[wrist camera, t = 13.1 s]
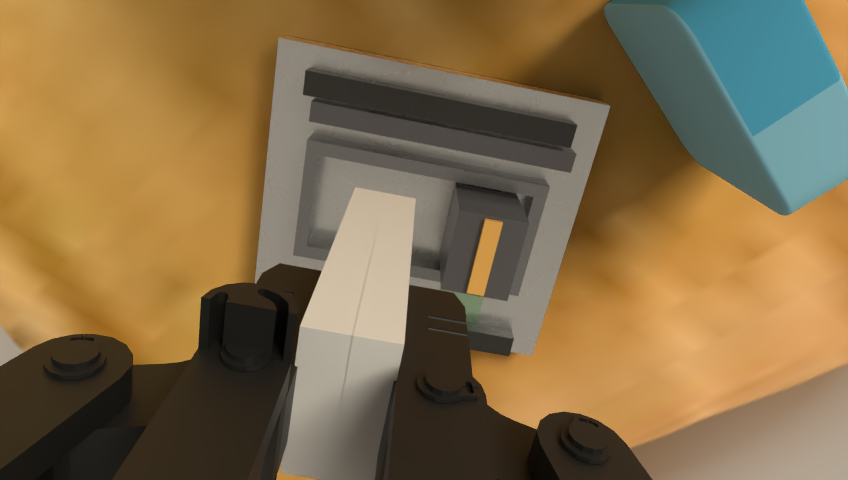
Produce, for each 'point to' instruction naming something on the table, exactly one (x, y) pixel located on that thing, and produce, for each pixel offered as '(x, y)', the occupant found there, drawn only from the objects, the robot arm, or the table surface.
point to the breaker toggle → (482, 242)
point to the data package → (744, 91)
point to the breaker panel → (424, 167)
